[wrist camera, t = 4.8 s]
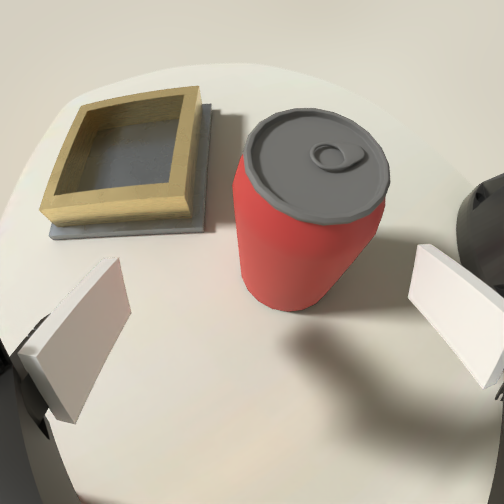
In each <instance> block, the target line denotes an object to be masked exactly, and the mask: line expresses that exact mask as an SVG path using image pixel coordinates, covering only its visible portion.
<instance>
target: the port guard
mask: <svg viewBox="0 0 504 504" xmlns="http://www.w3.org/2000/svg"><path fill="white" fill-rule="evenodd" d="M211 116H212V105H211V104H202V101H201V95H200V89H199V86H190V87H181V88H173V89H165V90H158V91H151V92H145V93H139V94H133V95H128V96H122V97H117V98H112V99H108V100H103V101H99V102H95V103H90V104H86V105H83V106H81V107H80V109H79V111H78V113H77V115H76V117H75V119H74V121H73V124H72V126H71V128H70V130H69V132H68V134H67V137H66V139H65V141H64V143H63V146H62V148H61V150H60V153H59V155H58V158H57V160H56V163H55V165H54V168H53V171H52V173H51V176H50V179H49V181H48V184H47V187H46V190H45V193H44V196H43V199H42V202H41V205H40V209H39V211H40V212H41V213H42V214H43V215H44V216H46V217H47V218H48V219H49V220H50V221H51V222H52V224H51V228H50V232H49V237H50V238H51V239H53V240H60V239H75V238H92V237H110V236H129V235H149V234H171V233H196V232H204V218H205V199H206V182H207V166H208V152H209V140H210V127H211Z"/></svg>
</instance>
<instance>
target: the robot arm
mask: <svg viewBox="0 0 504 504" xmlns="http://www.w3.org/2000/svg"><path fill="white" fill-rule="evenodd" d="M456 234H457V245H458V251H459V256H460V260H461V263H462V266H461V265H460V264H459V263H457V262H456V261H454V260H453V259H452V258H450V257H449V256H447V255H446V254H445V253H443V252H442V251H440V250H439V249H437V248H436V247H434V246H433V245H431V244H418V245H417V252H416V258H415V264H414V269H413V274H412V280H411V285H410V290H409V294H408V299H409V300H410V301H411V302H412V303H413V304H414V305H415V306H416V308H417V309H418V310H419V311H420V312H421V313H422V314H423V316H424V317H425V318H426V319H427V320H428V321H429V322H430V324H431V325H432V326H433V327H434V328H435V330H436V331H437V332H438V333H439V334H440V336H441V337H442V338H443V339H444V340H445V342H446V343H447V344H448V345H449V346H450V348H451V349H452V350H453V351H454V353H455V354H456V355H457V356H458V358H459V359H460V360H461V361H462V363H463V364H464V365H465V367H466V368H467V369H468V370H469V372H470V373H471V374H472V376H473V377H474V378H475V380H476V381H477V382H478V384H479V385H480V386H481V388H482V389H485V388H487V387H490V386H492V385H494V384H496V383H497V381H498V379H499V378H500V376H501V374H502V372H503V370H504V173H503V174H500V175H498V176H496V177H494V178H491V179H489V180H487V181H484V182H482V183H481V184H479V185H478V186H477V187H476V188H475V189H474V190H473V191H472V192H471V193H470V194H469V195H468V196H467V197H466V198H465V199H464V201H463V202H462V204H461V206H460V209H459V212H458V217H457V225H456ZM130 314H131V309H130V305H129V301H128V297H127V293H126V289H125V284H124V280H123V275H122V271H121V266H120V261H119V257H114V258H103V259H102V260H101V261H100V262H99V263H98V264H97V265H96V266H95V267H94V268H93V269H92V270H91V271H90V272H89V273H88V274H87V275H86V276H85V277H84V278H83V279H82V280H81V281H80V282H79V283H78V284H77V285H76V287H75V288H74V289H73V290H72V291H71V292H70V293H69V294H68V295H67V296H66V297H65V298H64V299H63V300H62V302H61V303H60V304H59V305H58V306H57V307H56V308H55V309H54V310H53V312H52V313H50V314H49V315H47V316H46V317H44V318H43V319H41V320H40V321H39V323H38V324H37V325H36V326H35V327H34V330H32V331H31V332H30V333H29V334H28V337H27V336H26V338H25V339H24V340H23V341H22V342H21V344H20V345H19V346H18V347H17V348H16V350H15V351H14V352H13V353H12V355H11V356H10V357H9V355H8V353H7V351H6V349H5V347H4V345H3V343H2V341H1V339H0V504H81V502H80V500H79V498H78V496H77V494H76V492H75V490H74V488H73V485H72V483H71V481H70V479H69V476H68V474H67V471H66V469H65V466H64V464H63V461H62V459H61V456H60V453H59V451H58V448H57V445H56V442H55V439H54V436H53V433H52V430H51V427H50V424H49V421H48V420H47V418H46V417H45V413H46V412H47V410H48V408H49V409H50V410H51V412H52V413H53V415H54V416H55V418H56V419H57V420H60V421H64V422H68V423H72V424H76V422H77V420H78V417H79V415H80V413H81V411H82V409H83V406H84V404H85V402H86V400H87V398H88V396H89V394H90V392H91V390H92V387H93V385H94V383H95V381H96V379H97V377H98V375H99V373H100V371H101V369H102V367H103V365H104V363H105V361H106V359H107V357H108V355H109V354H110V352H111V350H112V348H113V346H114V344H115V342H116V340H117V338H118V336H119V335H120V333H121V331H122V329H123V327H124V325H125V323H126V322H127V320H128V318H129V316H130ZM502 393H503V397H502V398H501V400H500V401H503V414H502V426H501V436H500V444H499V451H498V457H497V463H496V469H495V474H494V479H493V484H492V488H491V492H490V496H489V500H488V504H504V383H503V384H502V386H501V388H500V389H499V391H498V393H497V394H496V397H495V400H497V399H498V398H499V396H500V394H502Z"/></svg>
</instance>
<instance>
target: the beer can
mask: <svg viewBox="0 0 504 504" xmlns="http://www.w3.org/2000/svg"><path fill="white" fill-rule="evenodd" d="M389 185H390V170H389V163H388V161H387V159H386V157H385V154H384V152H383V150H382V148H381V147H380V145H379V144H378V143H377V142H376V140H375V139H374V138H373V137H372V136H371V135H370V133H369V132H367V131H366V130H365V129H363V128H362V127H361V126H359V125H358V124H357V123H355V122H354V121H352V120H350V119H348V118H346V117H344V116H341V115H339V114H337V113H334V112H330V111H325V110H321V109H316V108H295V109H291V110H286V111H282V112H278V113H275V114H273V115H271V116H270V117H268V118H266V119H264V120H263V121H261V122H259V124H258V125H257V126H256V127H255V128H254V129H253V130H252V132H251V133H250V134H249V135H248V138H247V141H246V144H245V147H244V150H243V154H242V156H241V158H240V161H239V164H238V168H237V171H236V174H235V177H234V181H233V185H232V188H233V199H234V210H235V219H236V229H237V238H238V247H239V256H240V265H241V274H242V278H243V280H244V283H245V285H246V287H247V289H248V291H249V292H250V293H251V294H252V295H253V296H254V297H255V298H256V299H257V300H258V301H259V302H261V303H263V304H264V305H266V306H268V307H270V308H272V309H276V310H281V311H287V312H288V311H297V310H303V309H305V308H307V307H309V306H312V305H314V304H316V303H317V302H318V301H319V300H320V299H321V298H322V297H323V296H324V295H325V294H326V293H327V292H328V291H329V290H330V289H331V287H332V286H333V285H334V284H335V283H336V282H337V280H338V279H339V278H340V277H341V276H342V275H343V273H344V272H345V271H346V270H347V269H348V267H349V266H350V265H351V264H352V263H353V261H354V260H355V259H356V258H357V257H358V255H359V254H360V253H361V252H362V250H363V249H364V248H365V247H366V245H367V244H368V243H369V242H370V240H371V239H372V238H373V237H374V235H375V234H376V231H377V229H378V226H379V223H380V221H381V218H382V215H383V212H384V208H385V196H386V193H387V190H388V188H389Z"/></svg>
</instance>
